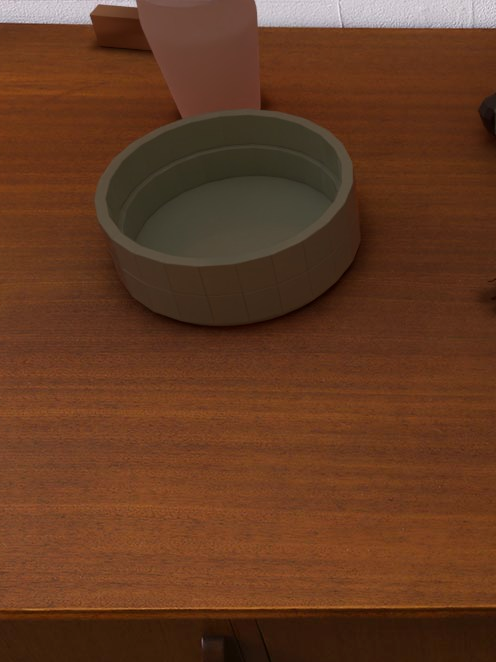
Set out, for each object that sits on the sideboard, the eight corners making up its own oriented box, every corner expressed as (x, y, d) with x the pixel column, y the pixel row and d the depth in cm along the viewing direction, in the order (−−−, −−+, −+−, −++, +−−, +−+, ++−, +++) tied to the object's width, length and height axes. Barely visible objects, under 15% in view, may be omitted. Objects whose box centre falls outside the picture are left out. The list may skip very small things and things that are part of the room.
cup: (289, 89, 89) (266, -42, 80) (253, 148, 83) (224, 14, 74) (192, 78, 90) (159, -52, 81) (150, 136, 84) (109, 2, 75)
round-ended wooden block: (96, 49, 93) (86, 17, 91) (110, 32, 95) (100, 1, 93) (206, 58, 92) (198, 26, 90) (217, 41, 94) (210, 10, 92)
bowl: (77, 316, 69) (49, 250, 65) (171, 163, 81) (153, 99, 77) (326, 343, 68) (314, 278, 63) (384, 184, 80) (378, 120, 75)
